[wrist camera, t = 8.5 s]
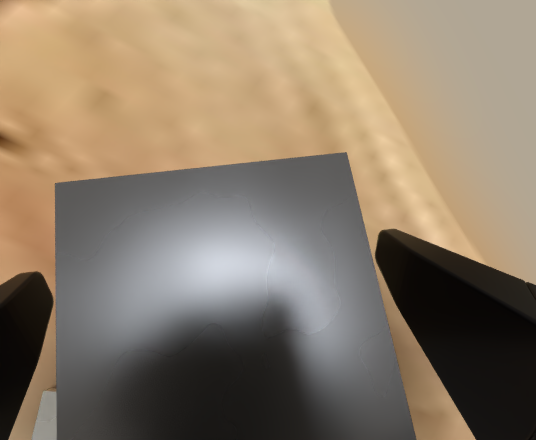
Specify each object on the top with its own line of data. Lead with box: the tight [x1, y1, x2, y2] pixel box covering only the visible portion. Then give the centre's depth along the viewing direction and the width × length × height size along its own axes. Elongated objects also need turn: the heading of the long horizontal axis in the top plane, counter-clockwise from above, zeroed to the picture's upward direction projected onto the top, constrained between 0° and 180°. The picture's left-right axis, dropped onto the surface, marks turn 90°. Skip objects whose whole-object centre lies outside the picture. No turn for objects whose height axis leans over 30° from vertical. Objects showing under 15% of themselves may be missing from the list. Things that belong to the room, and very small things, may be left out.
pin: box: [55, 152, 416, 440], centre depth 11 cm, size 5×5×12 cm
